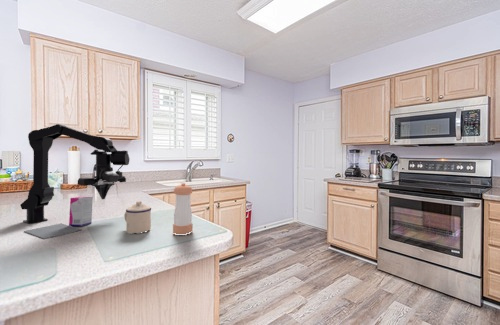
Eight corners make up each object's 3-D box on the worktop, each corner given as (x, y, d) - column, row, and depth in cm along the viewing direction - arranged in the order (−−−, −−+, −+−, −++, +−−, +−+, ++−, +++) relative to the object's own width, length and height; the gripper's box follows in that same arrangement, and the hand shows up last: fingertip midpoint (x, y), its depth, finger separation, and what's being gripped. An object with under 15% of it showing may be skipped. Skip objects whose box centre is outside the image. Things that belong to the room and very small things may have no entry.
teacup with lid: (156, 229, 96) (156, 200, 95) (137, 235, 87) (137, 204, 87) (134, 225, 100) (134, 198, 100) (114, 231, 92) (115, 201, 92)
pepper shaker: (168, 234, 90) (169, 183, 89) (181, 229, 96) (181, 182, 96) (184, 237, 87) (185, 185, 86) (196, 231, 94) (196, 183, 93)
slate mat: (24, 231, 90) (24, 230, 90) (61, 224, 100) (61, 223, 100) (44, 239, 82) (44, 238, 82) (81, 230, 93) (81, 229, 93)
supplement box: (92, 223, 102) (93, 196, 103) (81, 226, 96) (82, 198, 97) (79, 222, 103) (81, 196, 103) (68, 225, 97) (69, 197, 97)
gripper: (91, 166, 95) (91, 204, 96) (133, 165, 112) (133, 197, 112) (76, 165, 101) (76, 201, 101) (118, 164, 117) (118, 195, 118)
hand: (103, 199), depth 108 cm, fingers closed
